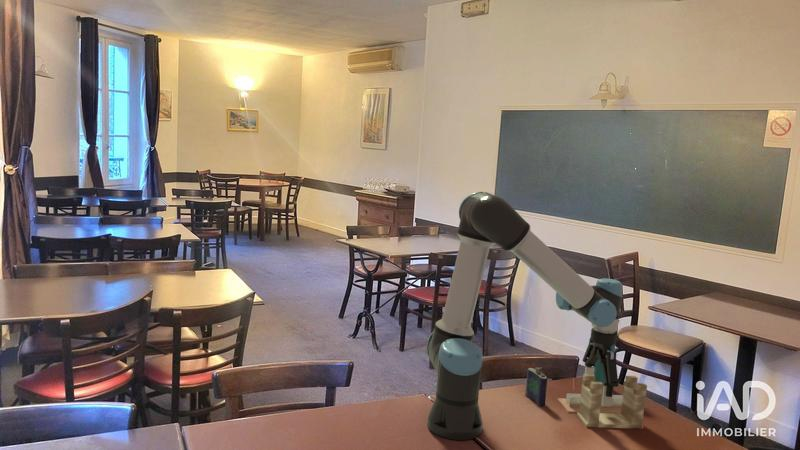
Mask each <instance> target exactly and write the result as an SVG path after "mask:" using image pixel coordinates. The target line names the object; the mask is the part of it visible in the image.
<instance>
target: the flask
mask: <svg viewBox="0 0 800 450" xmlns="http://www.w3.org/2000/svg"><path fill="white" fill-rule="evenodd" d="M541 369H543V367H535V368H532V367H529V368H527V374H526V385H525V392H524V395H525V396H526V397H527V398H528V399H530V401H533V402H534V403H535V404H536V405H538V406H539V407H546V400H547V399H546V398H547V388H548V387H547V386H548V377H547V376H546V375H545V374H544V373H543V371H542V370H541Z"/></svg>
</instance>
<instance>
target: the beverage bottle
mask: <svg viewBox="0 0 800 450" xmlns="http://www.w3.org/2000/svg"><path fill="white" fill-rule="evenodd" d="M611 352H616V344H615V345H612V346H611ZM592 367H594V368H595V369H594V376H595V382H602V383H603V384H604V383H605V379H604V374H603V368H602V364H601V363H600V361H599V359H598V360H597V362H596V363H595V366H592ZM603 386H604V385H603Z"/></svg>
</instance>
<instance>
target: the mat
mask: <svg viewBox="0 0 800 450" xmlns="http://www.w3.org/2000/svg"><path fill="white" fill-rule="evenodd" d="M557 401H558V402H559V403H560V404H561V406H562V407H563V408H564V410H565V411H566V413H572V414H574V413H575V414H577V413H579V407H569V406H568V405H567V403H566V398H561V397H559V398H558V397H557ZM600 413H610V414H621V408H600Z"/></svg>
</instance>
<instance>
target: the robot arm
mask: <svg viewBox="0 0 800 450" xmlns="http://www.w3.org/2000/svg"><path fill="white" fill-rule="evenodd" d="M458 215H459V216H458V217H459V218H458V219H459V220H460V221H459V225H458V230H457V233H456V234H457V236H458V238H459V239H460V240H459V241H460V243H459V248H458V250H457V255H456V259H455V264H454V268H453V272H452V276H451V280H450V284H449V288H448V292H447V295H446V301H445V306H444V309H443V313H442V316H441V317H442V318H441V319H439V320H437V321H435V324H434V329H433V331H432V332H431V333H430V335H429V336H428V339H427V342H426V352H427V355H428V359H429V360H430V362H431V364H432V366H433V368H434V369H435V372H436V374H437V375H436V377H437V380H436V390H435V391H436V393H435V399H434V400H433V403H432V406H431V408H430V411H429V412H428V414H427V423H426V424H427V427H428V429H429V430H430V432H432V433H433V434H435V435H436V436H438V437H441V438H444V439H449V440H453V441H467V440H473V439H476V438H477V437H479V436H480V435H481V434H482V432H483V422H484V421H483V419H482V414H481V409H480V405H479V396H480V386H481V385H480V384H481V373H482V366H483V351H482V348H481V347H480V346H479V345H478V344H477V343H475V342H473V339H474V336H475V335H474V334H475V332H474V329H473V328H472V327H471V325H472V321H473V317H474V312H475V309H476V305H477V301H478V297H479V292H480V289H481V285H482V281H483V276H484V273H485V269H486V268H485V267H486V264H487V260H488V256H489V253H490V249H491V247H493V246H496V245H498V246H499V247H500V248H501V249H503V250H504V251H505V252H511V253H513V255H514V256H516V257H517V258H518V259H519V260H520V261H521V262H523V264H524V265H526V267H528V268H529V269H530V270H532V272H533V273H535V274H536V275H537V276H538V277H540V279H541V280H542V281H544V283H546V284H547V285H548V286H549V287H550V288H551V289H552V290H554V292H555V302H556V305H557V306H556V307H558V309H560V310H562V311H563V310H564V311H567V312H568V311H574V312H575V313H577V314H578V315H579V316H581V317H583V318H584V319H585V320H587V321H588V322H590V323H591V327H592V328H591V330H590V338H589V342H588V345H587V348H586V350H585V353H584V355H583V358H582V362H583V363H584V366H585V369H584V370H585V371H584V374H593V375H594V369H595V368H594V367H593V366H595V363H596V362H597V360H598V359H599V361H600V363H601V364H602V368H603V374H604V379H605V383H604V384H603V385H604V386H603V390H602V403H601V405H602V406H611V403H612V395H614V387H615V388H617V387H619V380H618V379H619V378H618V366H617V352H616V351H615V352H611V346H612V345H615V346H616V344H617V340H618V339H617V338H618V332H617V331H618V330H619V323H620V322H621V321H620V315H621V306H622V301H623V300H622V299H623V287H624V286H623V283H622V282H621V281H619V280H617V279H614V278H613V279H612V278H606V277H605V278H598V279H597V281H596V283H595V285H590V284H589V283H588V282H587V281H586V280H585V279H584V278H582V276H580V275H579V274H578V273H577V272H576V271H575V270H574V269H573V268H572V267H571V266H570V265H569V264H567V263H566V262H565V261H564V260H563V259H562V258H561V257H560V256H559V255H557V254H556V253H555V251H553V250H552V249H551V248H550V247H549V246H548V245H546V244H545V243H544V242H543V240H541V239H540V238H539V237H538V236H537V235H535V233H534V232H533V231H531V225H530V223H528V221H526V220H525V219H524V218H523V216H521V215H520V214H519V213H518V212H517V210H515V208H513V206H512V205H511V204H510V203H509V202H508V201H507V200H505V199H504V198H503V197H500V196H498V195H495V194H492V193H489V192H487V191H477V192H473V193H470V194H469V195H467V196H466V197H464V198H463V200H462V201H461V202H460V205H459V209H458Z"/></svg>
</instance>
